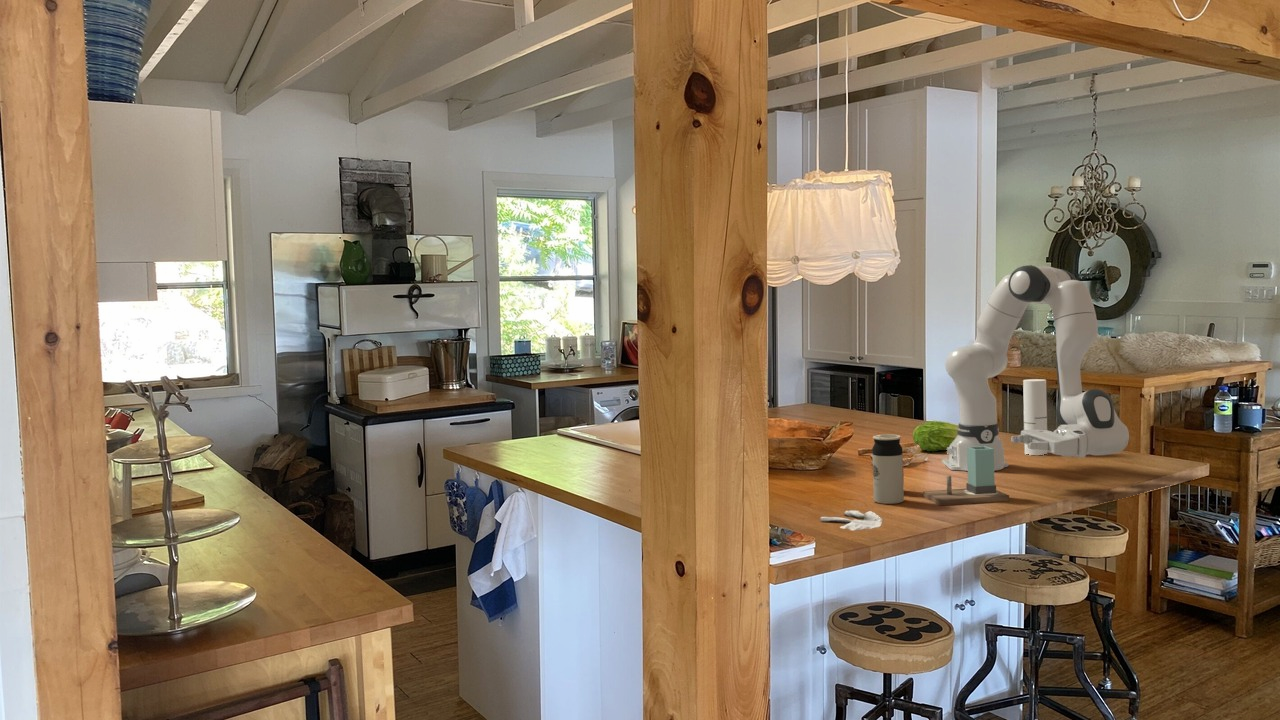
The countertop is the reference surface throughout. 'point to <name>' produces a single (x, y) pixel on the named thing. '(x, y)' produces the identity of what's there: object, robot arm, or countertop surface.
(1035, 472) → the countertop surface
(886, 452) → the travel mug
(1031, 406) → the cylindrical container
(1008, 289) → the robot arm
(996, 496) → the pin board
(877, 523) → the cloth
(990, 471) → the teal sleeve
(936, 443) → the lettuce
